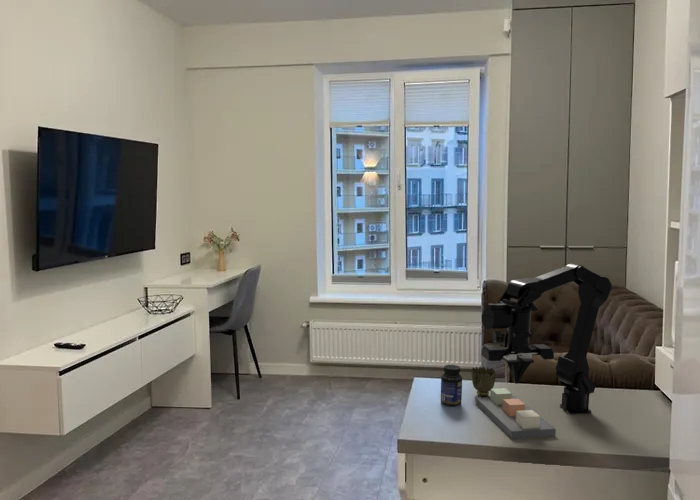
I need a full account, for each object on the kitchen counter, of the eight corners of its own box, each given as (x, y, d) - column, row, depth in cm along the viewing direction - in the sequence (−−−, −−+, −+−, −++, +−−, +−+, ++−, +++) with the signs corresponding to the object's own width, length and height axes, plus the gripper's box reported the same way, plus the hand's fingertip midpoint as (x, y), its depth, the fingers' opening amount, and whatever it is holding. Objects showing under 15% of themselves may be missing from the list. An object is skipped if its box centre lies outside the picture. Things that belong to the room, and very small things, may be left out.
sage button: (504, 399, 178) (504, 388, 178) (510, 404, 174) (511, 393, 174) (490, 400, 177) (490, 388, 177) (496, 405, 173) (496, 394, 173)
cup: (497, 399, 182) (498, 374, 181) (473, 399, 182) (474, 373, 181) (492, 391, 190) (493, 366, 189) (468, 390, 190) (469, 365, 189)
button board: (514, 402, 180) (514, 395, 180) (555, 436, 157) (555, 428, 157) (476, 404, 178) (476, 397, 178) (511, 439, 155) (511, 431, 155)
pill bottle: (461, 408, 175) (462, 370, 174) (439, 406, 177) (440, 369, 175) (461, 400, 181) (462, 364, 180) (440, 398, 183) (442, 363, 181)
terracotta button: (517, 410, 170) (517, 398, 170) (524, 416, 166) (525, 404, 165) (502, 411, 169) (502, 399, 169) (509, 417, 165) (509, 405, 164)
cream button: (531, 422, 162) (532, 409, 161) (539, 429, 157) (540, 416, 157) (515, 423, 161) (516, 410, 160) (523, 430, 157) (524, 417, 156)
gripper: (536, 319, 174) (533, 372, 176) (475, 320, 171) (472, 374, 173) (556, 329, 163) (553, 385, 165) (491, 330, 160) (488, 388, 162)
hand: (515, 383), depth 166 cm, fingers closed
